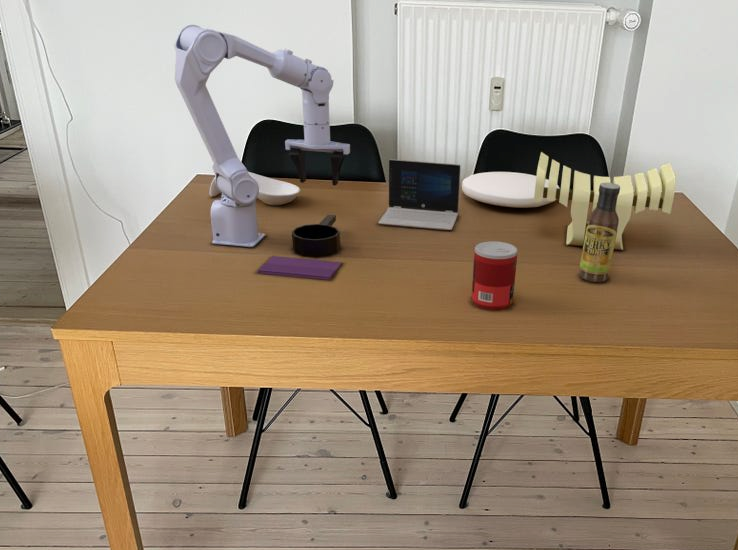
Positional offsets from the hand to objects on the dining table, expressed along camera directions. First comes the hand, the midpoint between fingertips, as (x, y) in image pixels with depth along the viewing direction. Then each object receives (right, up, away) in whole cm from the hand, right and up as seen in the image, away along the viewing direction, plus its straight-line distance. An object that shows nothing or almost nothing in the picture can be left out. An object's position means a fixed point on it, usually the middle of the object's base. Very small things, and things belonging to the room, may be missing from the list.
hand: (319, 182), depth 169 cm
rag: (-1, -22, -18) cm, 29 cm away
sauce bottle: (+60, -24, -16) cm, 67 cm away
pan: (+1, -15, -5) cm, 16 cm away
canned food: (+38, -30, -29) cm, 57 cm away
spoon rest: (-20, 0, +20) cm, 29 cm away
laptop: (+23, -7, +12) cm, 26 cm away
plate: (+47, +3, +30) cm, 56 cm away
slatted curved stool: (+65, -13, +5) cm, 66 cm away
